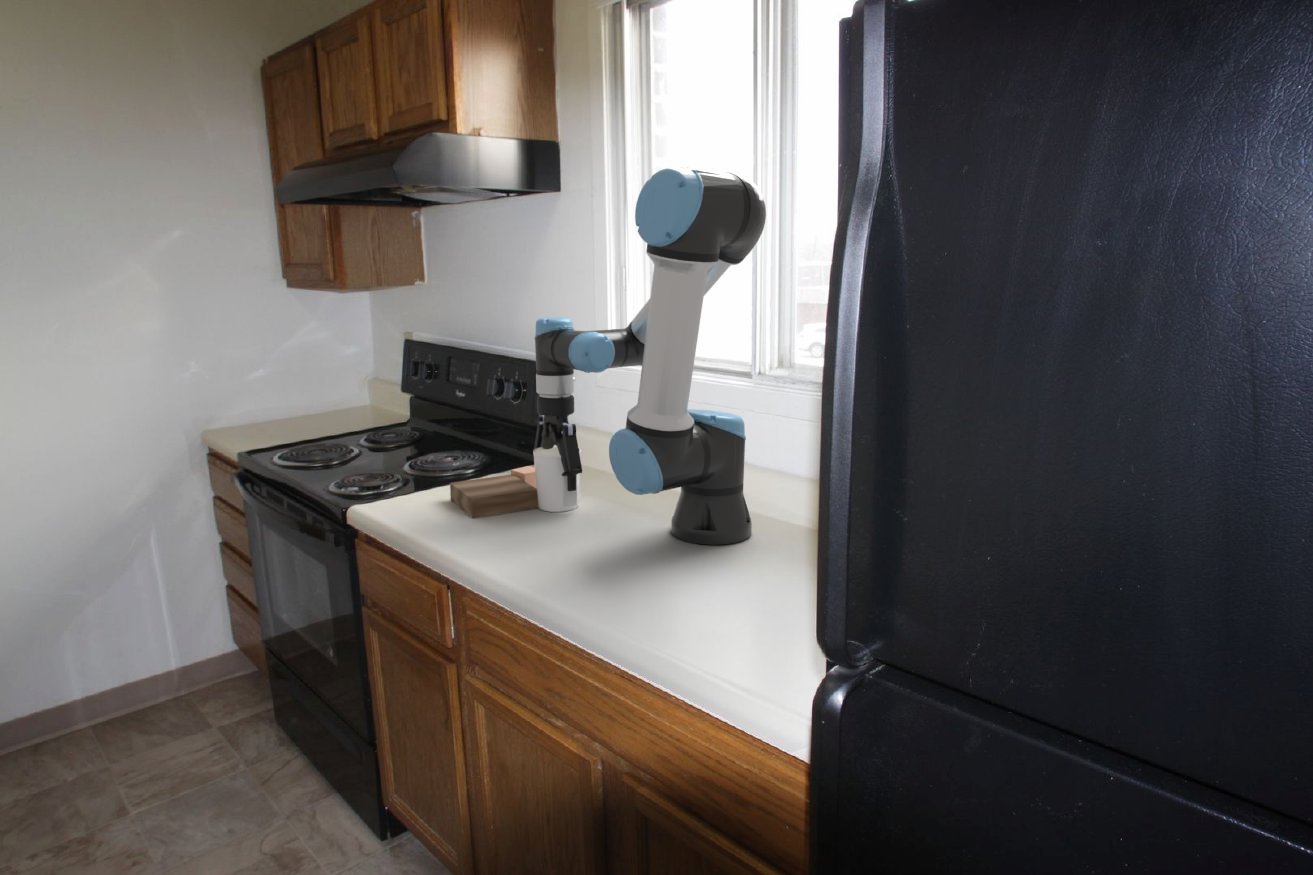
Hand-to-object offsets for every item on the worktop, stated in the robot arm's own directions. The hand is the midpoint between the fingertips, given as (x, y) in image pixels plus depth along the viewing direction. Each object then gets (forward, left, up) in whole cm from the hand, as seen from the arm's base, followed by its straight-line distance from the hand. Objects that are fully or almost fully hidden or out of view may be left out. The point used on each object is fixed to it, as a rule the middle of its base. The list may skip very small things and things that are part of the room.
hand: (557, 498), depth 171 cm
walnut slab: (+8, +11, -2) cm, 14 cm away
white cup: (0, 0, -2) cm, 2 cm away
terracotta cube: (+14, +1, -2) cm, 14 cm away
